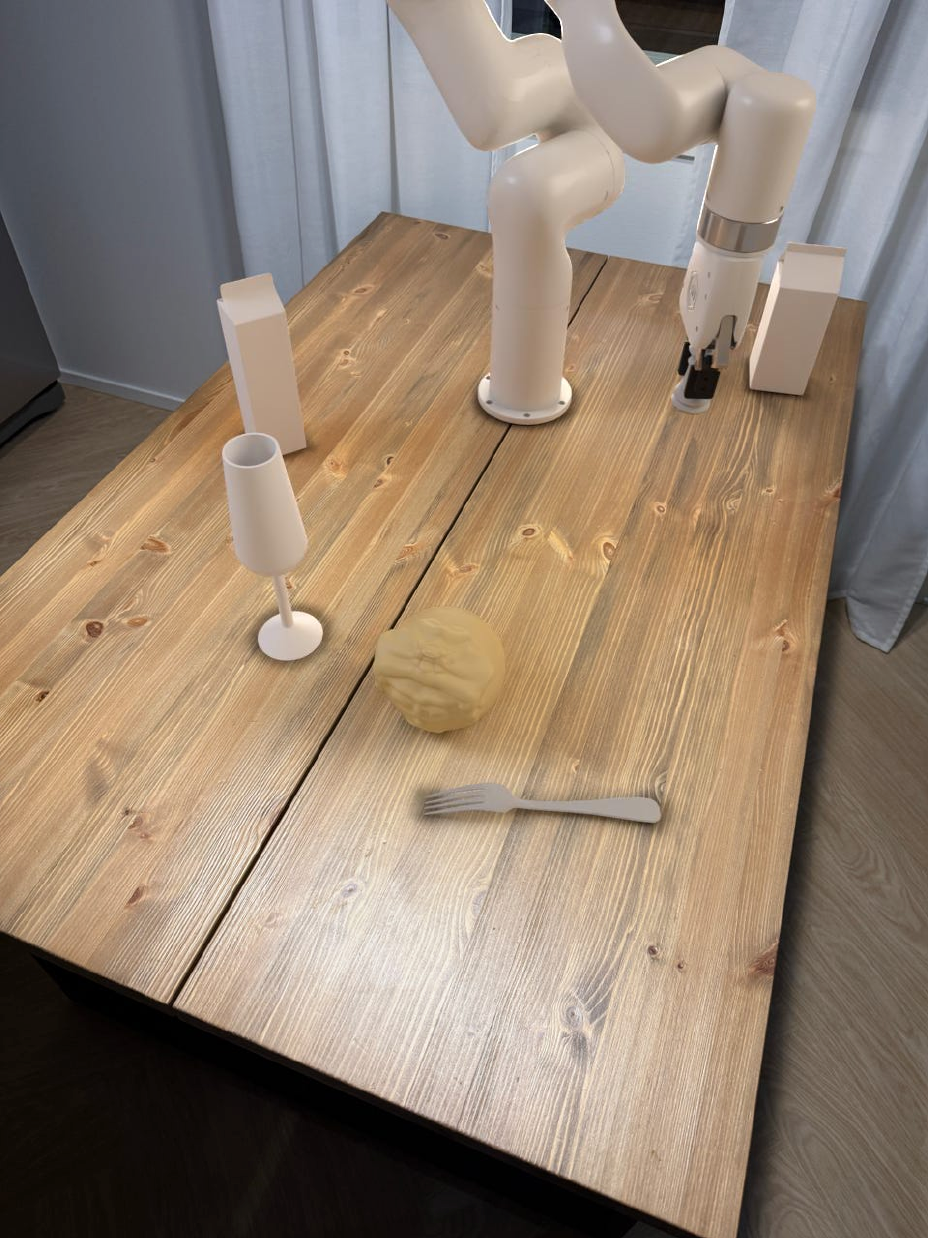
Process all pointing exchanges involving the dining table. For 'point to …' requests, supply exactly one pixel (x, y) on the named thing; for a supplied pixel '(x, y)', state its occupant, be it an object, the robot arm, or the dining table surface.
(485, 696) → the yellow dough ball
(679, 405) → the rook chess piece
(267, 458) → the champagne flute
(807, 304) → the milk carton
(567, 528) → the dining table surface
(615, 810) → the fork
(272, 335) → the milk
